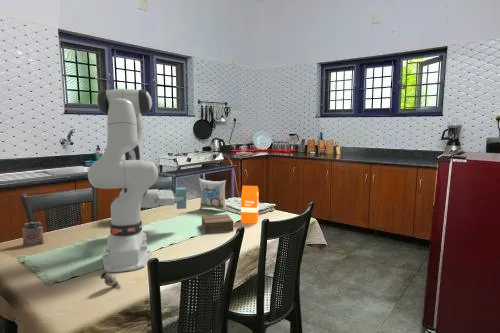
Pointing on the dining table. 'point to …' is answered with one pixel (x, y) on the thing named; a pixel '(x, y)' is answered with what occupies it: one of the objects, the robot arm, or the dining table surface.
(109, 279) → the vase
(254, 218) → the orange juice
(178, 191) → the teal block
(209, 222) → the walnut base
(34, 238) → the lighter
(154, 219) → the dining table surface
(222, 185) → the pouch
